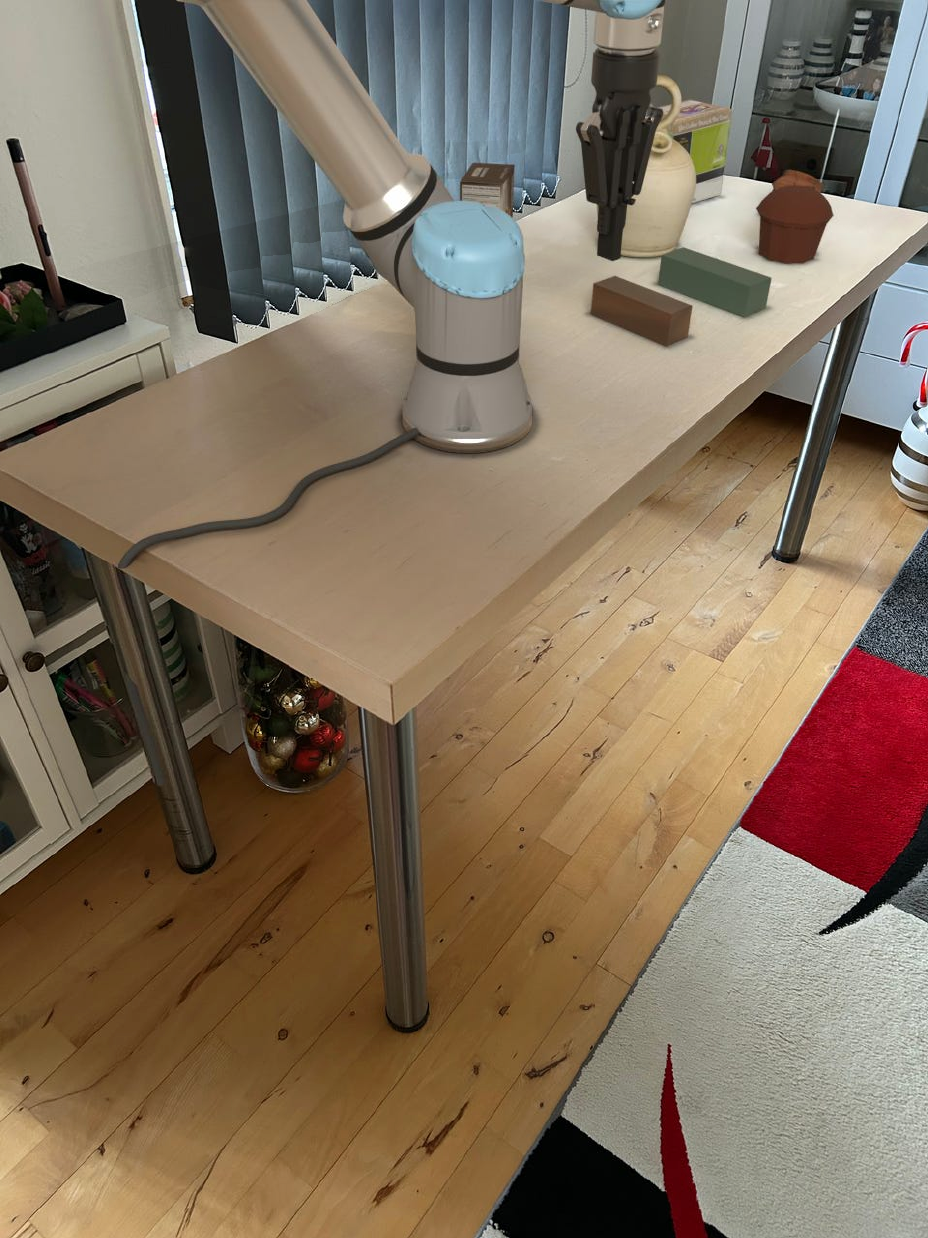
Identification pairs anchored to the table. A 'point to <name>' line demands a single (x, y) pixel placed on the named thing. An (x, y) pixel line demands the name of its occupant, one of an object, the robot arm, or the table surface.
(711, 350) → the table surface
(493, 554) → the table surface
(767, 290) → the green bar
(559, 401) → the table surface
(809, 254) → the muffin
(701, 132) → the tea box
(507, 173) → the coffee box
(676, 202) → the jug
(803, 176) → the bread bun
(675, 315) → the walnut bar
